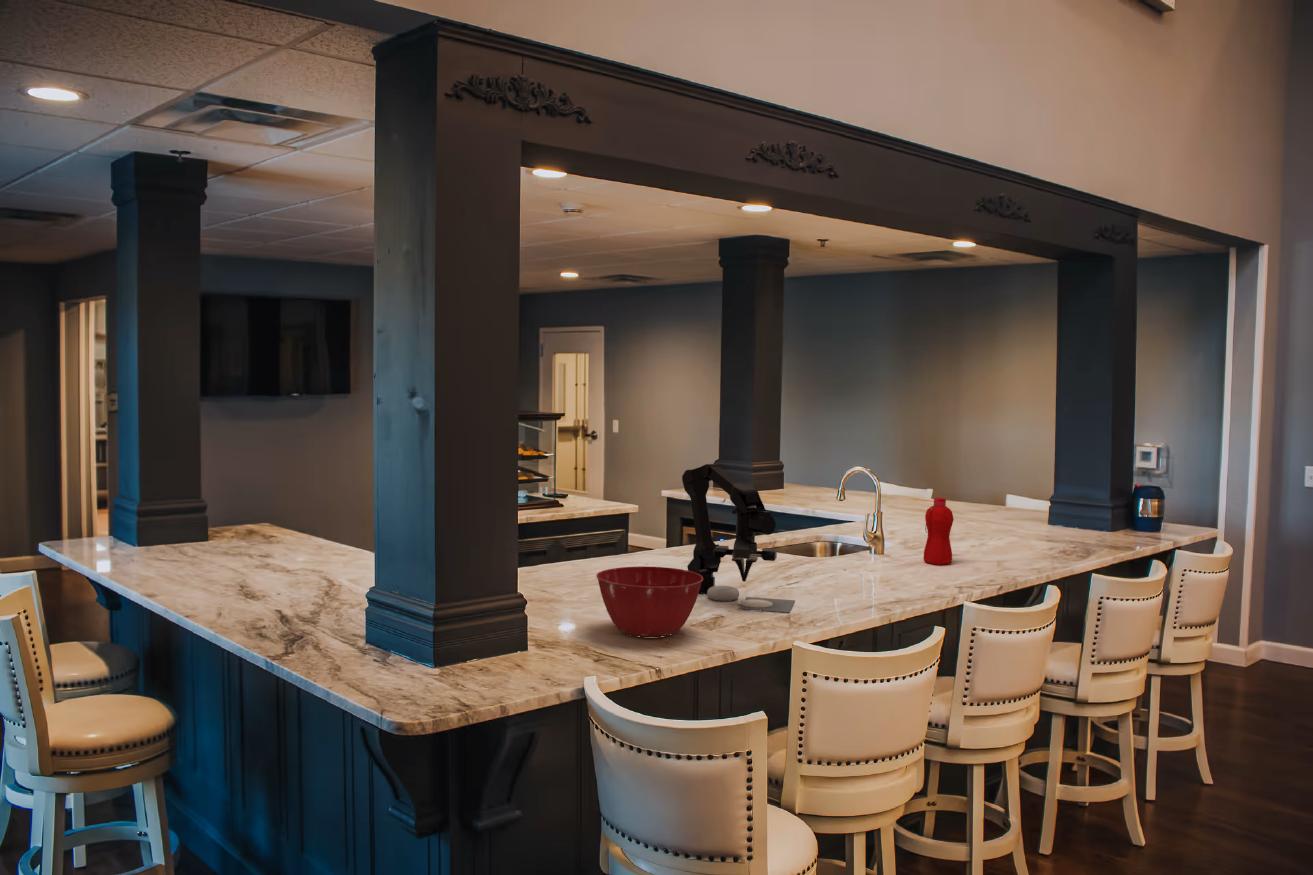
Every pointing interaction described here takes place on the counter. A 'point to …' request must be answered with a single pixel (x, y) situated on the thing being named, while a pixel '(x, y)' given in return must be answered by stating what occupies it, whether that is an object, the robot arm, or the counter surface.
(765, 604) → the kitchen scale
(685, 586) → the mixing bowl
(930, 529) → the water bottle
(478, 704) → the counter surface
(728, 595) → the donut
